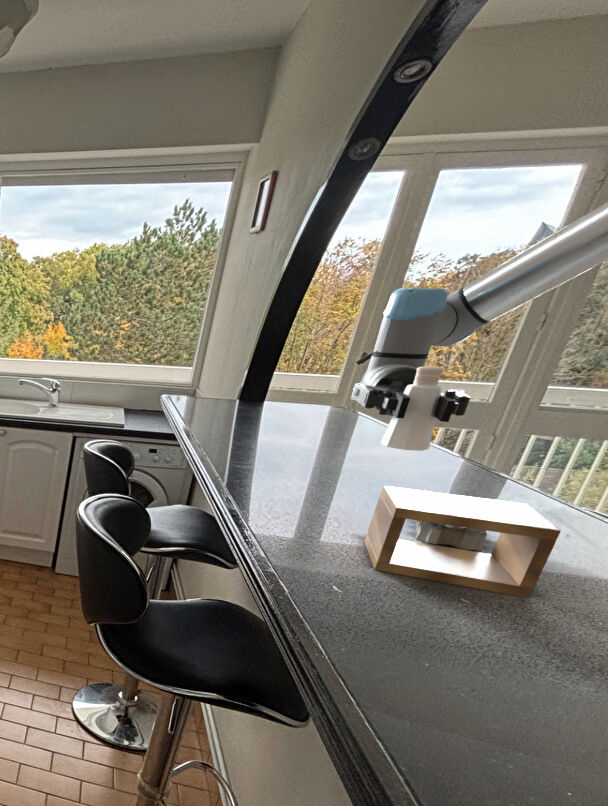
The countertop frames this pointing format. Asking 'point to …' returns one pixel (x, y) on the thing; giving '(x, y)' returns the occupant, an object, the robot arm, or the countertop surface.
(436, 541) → the grey bumpy bar
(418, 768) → the countertop surface
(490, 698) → the countertop surface
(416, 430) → the pepper shaker
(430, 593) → the countertop surface
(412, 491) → the frame
